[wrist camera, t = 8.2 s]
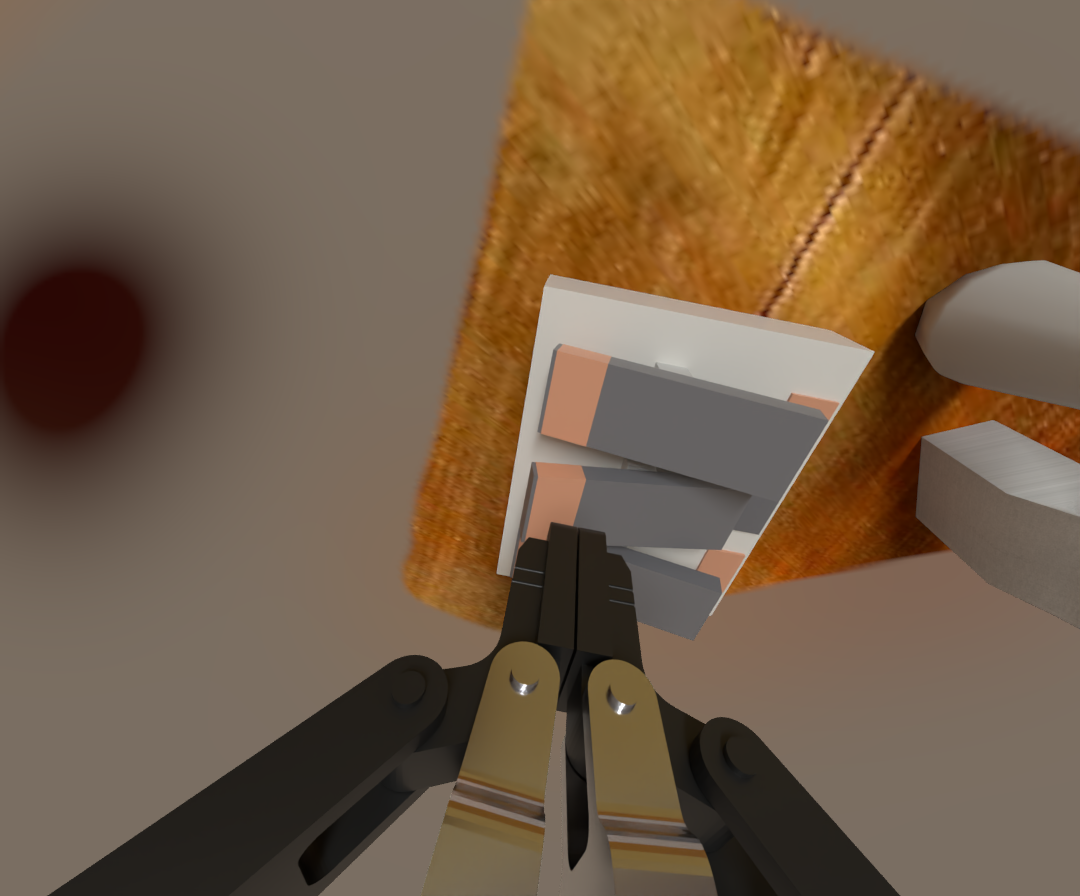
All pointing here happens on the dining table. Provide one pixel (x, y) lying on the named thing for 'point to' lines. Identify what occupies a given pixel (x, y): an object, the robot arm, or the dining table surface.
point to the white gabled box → (1006, 512)
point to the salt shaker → (1008, 331)
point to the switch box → (689, 349)
